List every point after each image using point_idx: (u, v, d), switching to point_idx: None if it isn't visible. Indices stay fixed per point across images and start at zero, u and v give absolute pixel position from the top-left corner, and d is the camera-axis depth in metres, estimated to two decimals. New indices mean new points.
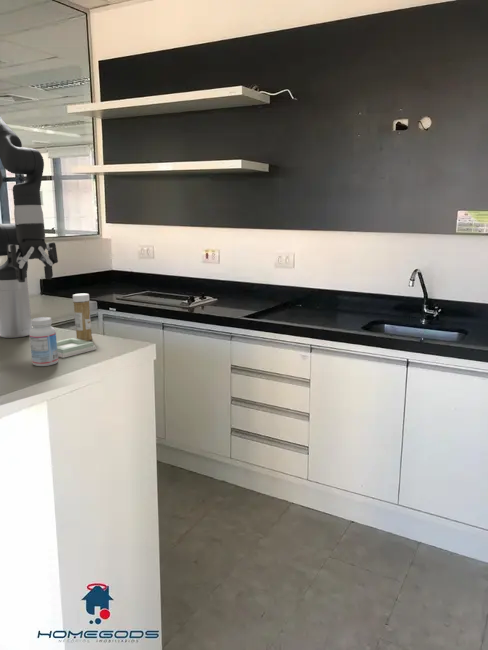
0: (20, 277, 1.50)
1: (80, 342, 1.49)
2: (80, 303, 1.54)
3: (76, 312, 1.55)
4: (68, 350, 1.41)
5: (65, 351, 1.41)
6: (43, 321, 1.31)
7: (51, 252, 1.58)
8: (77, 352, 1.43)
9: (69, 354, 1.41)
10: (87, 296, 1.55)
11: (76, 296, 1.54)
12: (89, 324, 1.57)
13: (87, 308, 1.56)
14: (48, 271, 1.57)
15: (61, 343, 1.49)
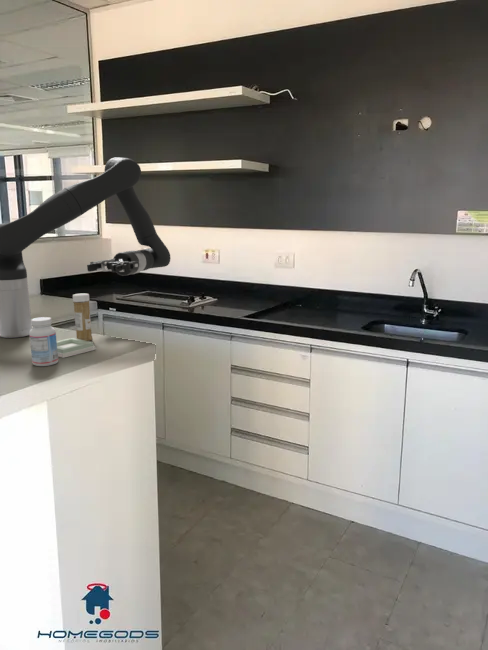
0: (117, 270, 1.63)
1: (80, 342, 1.49)
2: (80, 303, 1.54)
3: (76, 312, 1.55)
4: (68, 350, 1.41)
5: (65, 351, 1.41)
6: (43, 321, 1.31)
7: (99, 266, 1.73)
8: (77, 352, 1.43)
9: (69, 354, 1.41)
10: (87, 296, 1.55)
11: (76, 296, 1.54)
12: (89, 324, 1.57)
13: (87, 308, 1.56)
14: (93, 269, 1.67)
15: (61, 343, 1.49)
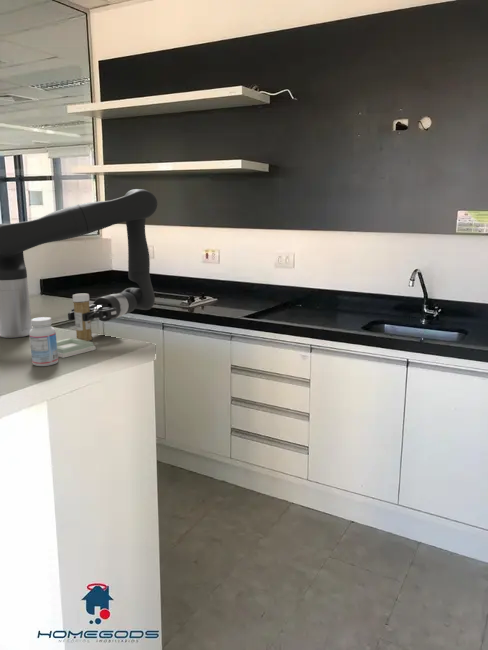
0: None
1: (80, 342, 1.49)
2: (80, 303, 1.54)
3: (76, 312, 1.55)
4: (68, 350, 1.41)
5: (65, 351, 1.41)
6: (43, 321, 1.31)
7: None
8: (77, 352, 1.43)
9: (69, 354, 1.41)
10: (87, 296, 1.55)
11: (76, 296, 1.54)
12: (89, 324, 1.57)
13: (87, 308, 1.56)
14: None
15: (61, 343, 1.49)
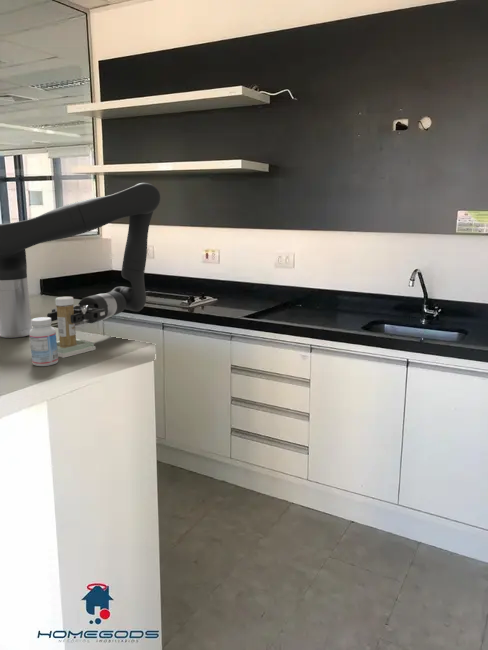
0: None
1: (80, 342, 1.49)
2: (63, 307, 1.42)
3: (59, 317, 1.43)
4: (68, 350, 1.41)
5: (65, 351, 1.41)
6: (43, 321, 1.31)
7: None
8: (77, 352, 1.43)
9: (69, 354, 1.41)
10: (71, 299, 1.43)
11: (59, 299, 1.42)
12: (73, 330, 1.45)
13: (71, 312, 1.44)
14: (55, 319, 1.46)
15: None
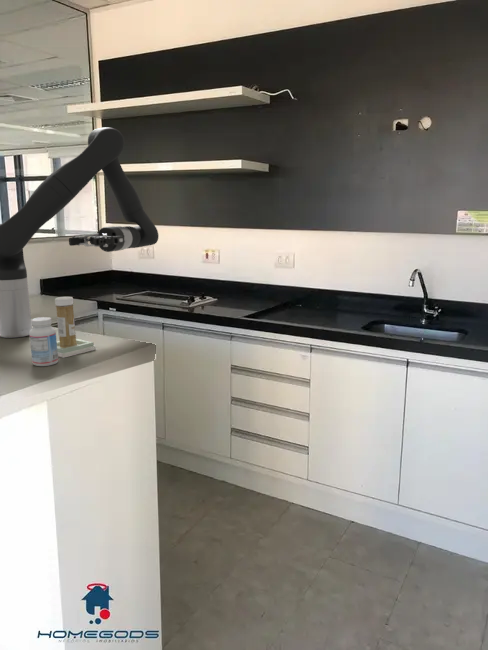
0: (100, 244, 1.54)
1: (80, 342, 1.49)
2: (62, 307, 1.42)
3: (59, 317, 1.43)
4: (68, 350, 1.41)
5: (65, 351, 1.41)
6: (43, 321, 1.31)
7: (82, 241, 1.64)
8: (77, 352, 1.43)
9: (69, 354, 1.41)
10: (71, 299, 1.43)
11: (59, 300, 1.42)
12: (73, 330, 1.45)
13: (71, 312, 1.44)
14: (76, 243, 1.58)
15: None
